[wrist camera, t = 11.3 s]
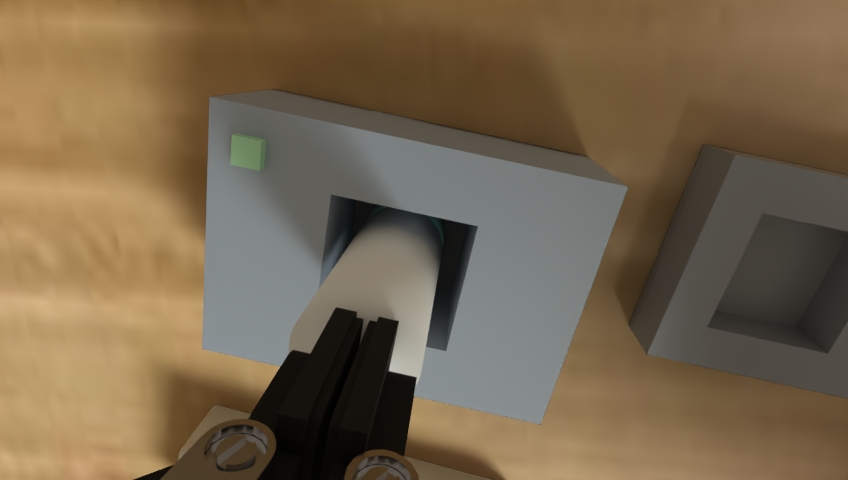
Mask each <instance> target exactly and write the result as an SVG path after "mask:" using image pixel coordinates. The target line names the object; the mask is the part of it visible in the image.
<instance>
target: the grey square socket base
mask: <svg viewBox="0 0 848 480" xmlns="http://www.w3.org/2000/svg"><path fill="white" fill-rule="evenodd" d="M629 326H630V328H631V330H632V331H633V333H634V334H635V336H636V338H637V339H638V341H639V342H640V344H641V346H642V347H643V349H644V350H645V352H646V354H647V355H652V356H656V357H661V358H666V359H670V360H675V361H679V362H684V363H688V364H693V365H697V366H702V367H706V368H711V369H715V370H720V371H724V372H729V373H734V374H738V375H743V376H747V377H752V378H756V379H761V380H765V381H770V382H774V383H779V384H783V385H788V386H792V387H797V388H802V389H806V390H811V391H815V392H820V393H824V394H829V395H833V396H838V397H842V398H847V399H848V175H846V174H841V173H836V172H832V171H827V170H822V169H818V168H813V167H808V166H803V165H799V164H794V163H789V162H785V161H780V160H775V159H771V158H766V157H761V156H757V155H752V154H747V153H743V152H738V151H733V150H729V149H724V148H719V147H715V146H710V145H705V144H704V145H703V148H702V150H701V152H700V155H699V157H698V160H697V162H696V164H695V167H694V169H693V172H692V174H691V176H690V179H689V181H688V184H687V186H686V188H685V191H684V193H683V196H682V198H681V200H680V203H679V205H678V208H677V210H676V212H675V215H674V217H673V220H672V222H671V224H670V227H669V229H668V232H667V234H666V237H665V239H664V241H663V244H662V246H661V249H660V251H659V253H658V256H657V258H656V261H655V263H654V265H653V268H652V270H651V273H650V275H649V277H648V280H647V282H646V285H645V287H644V289H643V292H642V294H641V297H640V299H639V301H638V304H637V306H636V309H635V311H634V313H633V316H632V318H631V321H630V323H629Z"/></svg>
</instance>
